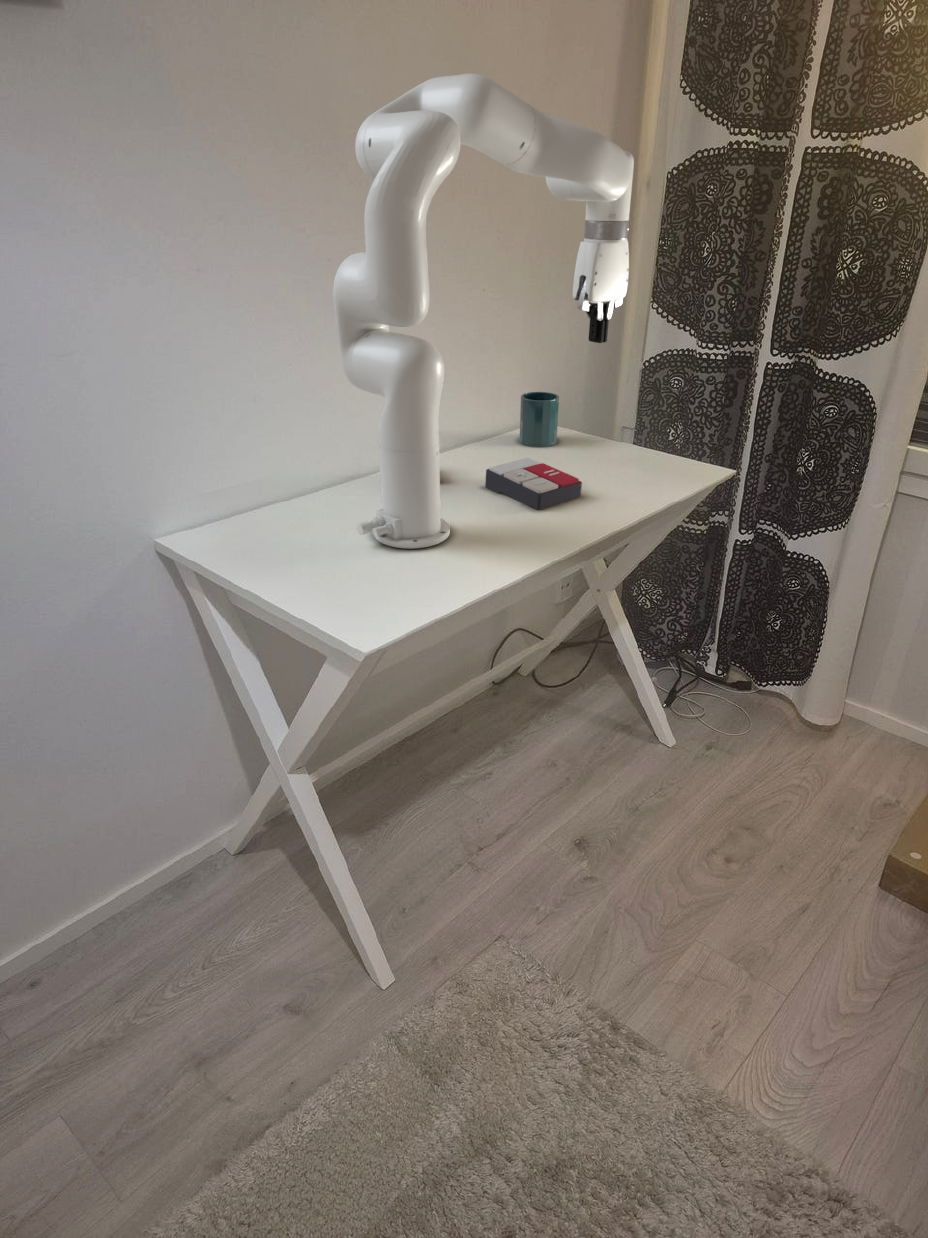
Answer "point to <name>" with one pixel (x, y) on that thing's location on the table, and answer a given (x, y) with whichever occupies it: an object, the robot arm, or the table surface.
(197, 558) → the table surface
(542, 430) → the pen pot
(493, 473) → the button box
